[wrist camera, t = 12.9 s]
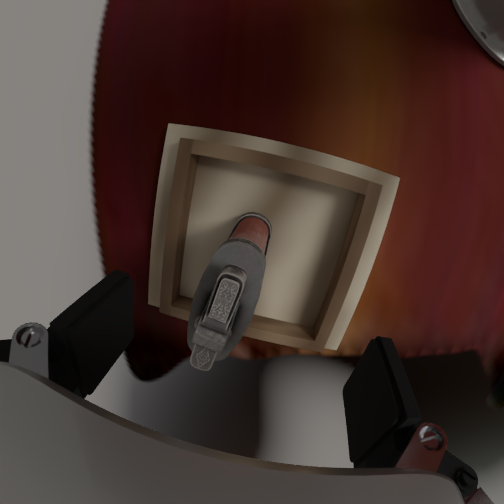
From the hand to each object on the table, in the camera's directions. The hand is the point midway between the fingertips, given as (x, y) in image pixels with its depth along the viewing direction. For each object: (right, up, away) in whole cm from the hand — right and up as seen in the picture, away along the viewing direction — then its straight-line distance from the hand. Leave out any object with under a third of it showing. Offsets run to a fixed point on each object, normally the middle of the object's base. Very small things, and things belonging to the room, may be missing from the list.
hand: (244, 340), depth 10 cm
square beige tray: (+1, +4, +13) cm, 13 cm away
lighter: (-1, +3, +12) cm, 13 cm away
